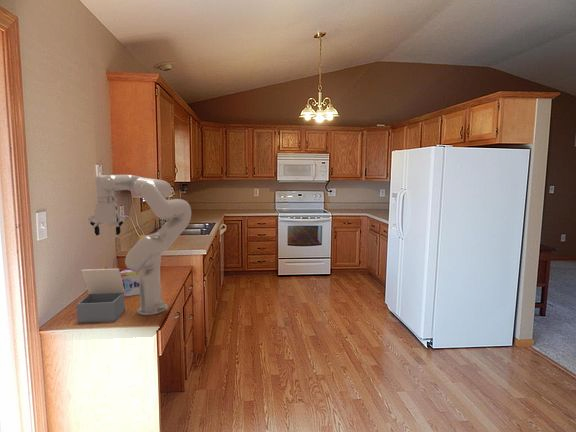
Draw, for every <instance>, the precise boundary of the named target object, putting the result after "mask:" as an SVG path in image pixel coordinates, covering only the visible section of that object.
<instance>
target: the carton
mask: <svg viewBox="0 0 576 432" xmlns="http://www.w3.org/2000/svg"><path fill="white" fill-rule="evenodd" d="M75 306H76V307H75V308H76V318H77V319H76V320H77V321H76V322H77V324H95V323H97V324H98V323H115V322H117V320H118V319H119V318H120V317H121V316H122V314H123V313H124V312H125V311H126V308H125V307H126V305H125V297H124V293H98V294H89V293H88V294H87V295H86V296H85V297H83V298H82V299H81V300H80V301H79V302H77V303H76V305H75Z"/></svg>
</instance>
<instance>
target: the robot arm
mask: <svg viewBox="0 0 576 432" xmlns="http://www.w3.org/2000/svg"><path fill="white" fill-rule="evenodd" d="M95 190H96V191H95V192H96V203H95V206H94V207H95V208H94V215H92V216H91V217H88V218H87V220H88V222H89V224H90V225H91V226H92V228H94V229H93V230H94V234H95V236H99V235H100V234H101V233H100V232H101V231H100V226H99V225H100V224H114V226H116V227H115V234H116V236H119V235H120V234H121V226H122V225H123V224H124V222H125V220H126V217H125V216H122V215H121V214H119V210H118V209H119V208H118V205H117V202H115V201H118V198H117V197H115V195H114V191H134V193H135V194H137V195H138V196H142V198H143V200H144V201H145V203H146V204H147V205H148V207H149V208H150V210H151V211H152V212H153V214H154V215H155V216H156V217H157V218H159V219H160V220H163V221H166V222H164V224H163V225H162V226H161V227H160V228H159V229H158V231H156V232H153V233H150V234H147V235H146V234H145V235H146V236H144V237H142V238H141V239H138V240H137V242H136V243H135V244H134V245H133V246H132V248H131V249H130V250H129V251H128V253H126V255H125V259H124V260H125V261H124V264H125V267H126V269H129V270H131V271H139V270H140V273H139V286H140V294H139V299H140V300H139V301H140V307H139V308H137V313H138V314H139V315H141V316H154V315H157V314H161V313H162V312H164V311H165V310H168V308H169V307H168V306H169V304H168V303H164V300H162V290H161V289H162V287H161V263H162V253H164V252H166V251H168V249H169V248H170V247H172V245H173V244H174V242H175V241H176V240H177V239H178V238H179V236H180V235H181V234H182V233H183V232H184V230H185V229H186V228H187V227H188V225H189V224H190V222H191V218H192V208H191V205H190V204H189V202H188V201H187V200H184V199H183V198H182V199H181V198H174V199H166V198H168V197H169V196H170V194H171V192H172V186H171V184H170V183H169V182H168V181H165V180H162V179H156V178H149V177H144V176H139V175H133V174H100V175H96V176H95ZM93 219H94V221H93ZM119 221H120V222H119Z"/></svg>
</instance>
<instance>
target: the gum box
mask: <svg viewBox="0 0 576 432" xmlns="http://www.w3.org/2000/svg"><path fill="white" fill-rule="evenodd" d="M119 271H120V275H121V279H122V283H123V287H124V291H125V292H122V293H124V298H126V297H131V296H138V295H140V286H139V273H140V270H139V271H131V270H129V269H128V268H125V269H119Z"/></svg>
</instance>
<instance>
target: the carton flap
mask: <svg viewBox="0 0 576 432" xmlns="http://www.w3.org/2000/svg"><path fill="white" fill-rule="evenodd" d="M119 270H120V268H118V267H117V268H107V265H103V266H102V268H95V269H94V268H93V269H92V268H91V269H88V268H87V269H81V274H82V276H83V279H84V283H85V285H86V288H87V292H88V295H89V294H99V293H122V292H125V291H124V287H123V283H122V279H121V275H120V271H119Z"/></svg>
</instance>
